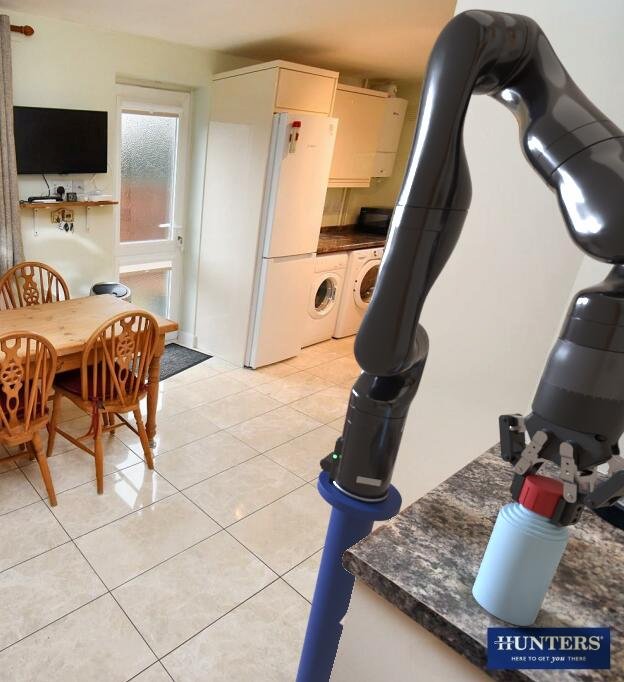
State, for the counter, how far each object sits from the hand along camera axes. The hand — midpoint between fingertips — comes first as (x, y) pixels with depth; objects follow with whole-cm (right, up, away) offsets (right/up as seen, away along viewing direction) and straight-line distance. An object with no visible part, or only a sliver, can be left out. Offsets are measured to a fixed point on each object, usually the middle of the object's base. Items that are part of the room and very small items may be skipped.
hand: (539, 511), depth 54 cm
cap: (0, +1, 0) cm, 1 cm away
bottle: (-1, -14, +5) cm, 15 cm away
